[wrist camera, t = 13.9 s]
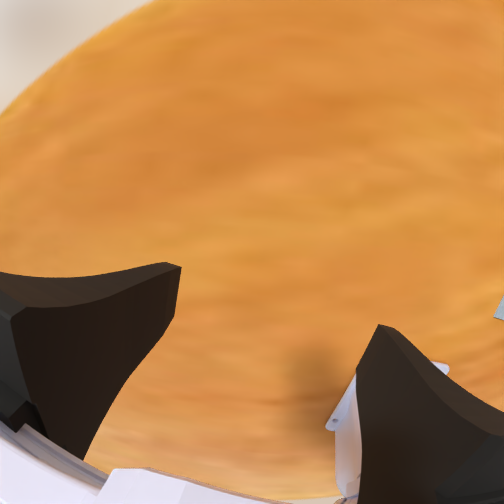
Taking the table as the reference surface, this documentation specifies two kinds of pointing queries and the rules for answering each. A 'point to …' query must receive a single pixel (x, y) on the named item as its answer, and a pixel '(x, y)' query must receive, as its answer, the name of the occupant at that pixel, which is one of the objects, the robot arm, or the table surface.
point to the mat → (500, 310)
